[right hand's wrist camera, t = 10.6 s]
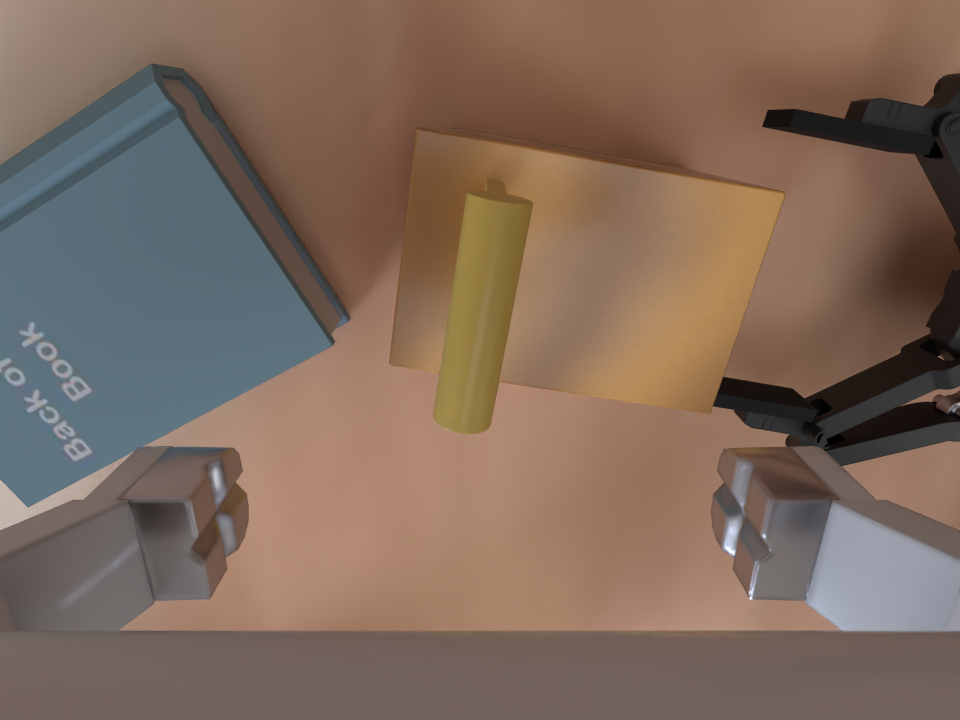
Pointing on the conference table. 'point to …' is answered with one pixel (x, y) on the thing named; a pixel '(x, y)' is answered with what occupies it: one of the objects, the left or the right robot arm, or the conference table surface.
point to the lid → (571, 276)
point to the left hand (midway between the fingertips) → (728, 263)
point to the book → (140, 282)
